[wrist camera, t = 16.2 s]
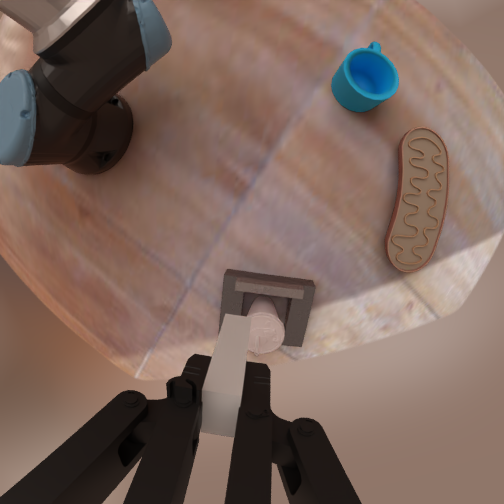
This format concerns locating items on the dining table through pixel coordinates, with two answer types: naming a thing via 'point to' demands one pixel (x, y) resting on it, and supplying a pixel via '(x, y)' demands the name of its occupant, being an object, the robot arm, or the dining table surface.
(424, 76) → the dining table surface
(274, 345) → the smoothie
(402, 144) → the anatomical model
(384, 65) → the mug
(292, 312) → the jig
